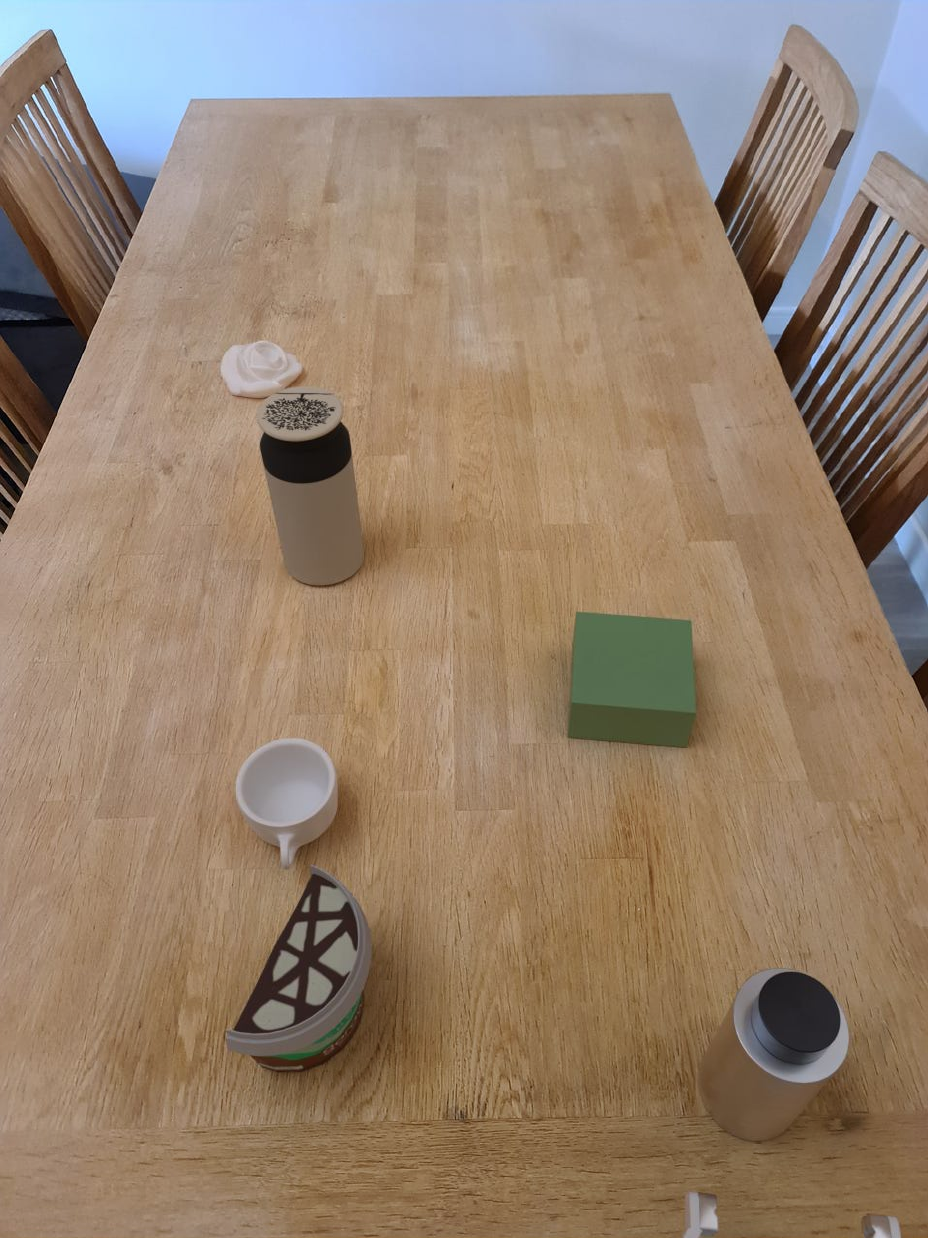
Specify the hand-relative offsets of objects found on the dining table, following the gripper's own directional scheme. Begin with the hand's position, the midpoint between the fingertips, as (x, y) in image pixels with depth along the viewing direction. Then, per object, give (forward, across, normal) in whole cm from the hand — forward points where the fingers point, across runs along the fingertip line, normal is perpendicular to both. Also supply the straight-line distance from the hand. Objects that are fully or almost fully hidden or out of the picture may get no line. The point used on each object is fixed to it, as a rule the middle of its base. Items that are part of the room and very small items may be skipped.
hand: (788, 1205), depth 52 cm
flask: (+8, 0, +8) cm, 11 cm away
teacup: (+24, +34, +8) cm, 42 cm away
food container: (+10, +28, +8) cm, 31 cm away
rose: (+84, +52, +8) cm, 99 cm away
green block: (+40, +8, +8) cm, 41 cm away
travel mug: (+54, +38, +8) cm, 66 cm away
